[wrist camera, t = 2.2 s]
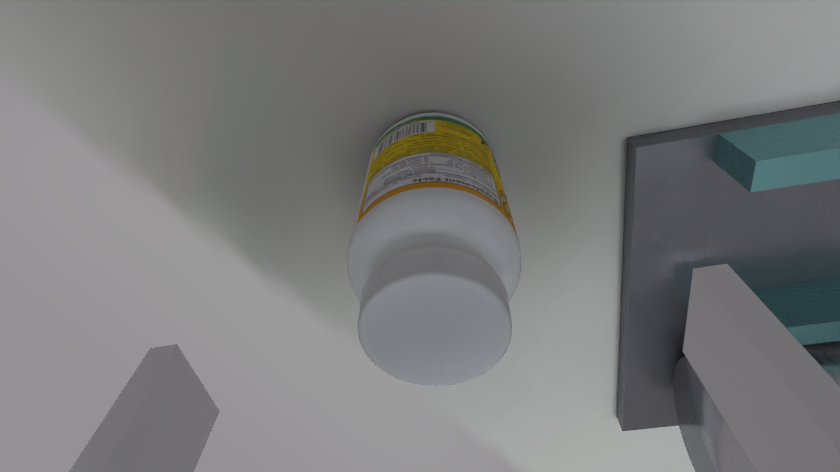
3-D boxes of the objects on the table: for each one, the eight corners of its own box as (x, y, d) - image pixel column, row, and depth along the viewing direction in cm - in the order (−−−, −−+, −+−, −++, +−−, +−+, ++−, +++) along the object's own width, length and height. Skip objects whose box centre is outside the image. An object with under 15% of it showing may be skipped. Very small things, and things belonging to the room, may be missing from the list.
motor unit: (627, 138, 19) (765, 288, 12) (1018, 70, 18) (1494, 191, 10) (616, 416, 29) (687, 603, 21) (870, 388, 27) (1050, 579, 20)
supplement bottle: (394, 88, 19) (369, 217, 10) (519, 138, 20) (583, 290, 12) (352, 202, 21) (307, 373, 13) (463, 240, 22) (484, 421, 14)
